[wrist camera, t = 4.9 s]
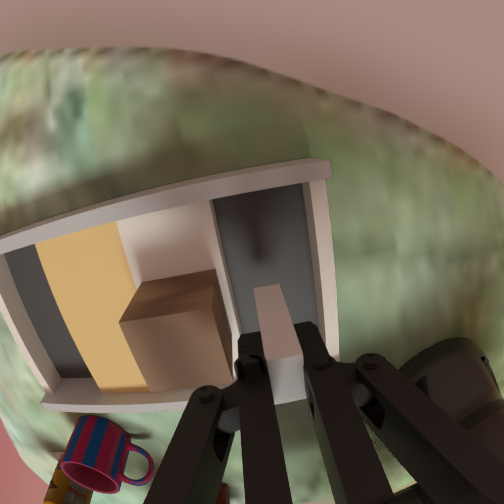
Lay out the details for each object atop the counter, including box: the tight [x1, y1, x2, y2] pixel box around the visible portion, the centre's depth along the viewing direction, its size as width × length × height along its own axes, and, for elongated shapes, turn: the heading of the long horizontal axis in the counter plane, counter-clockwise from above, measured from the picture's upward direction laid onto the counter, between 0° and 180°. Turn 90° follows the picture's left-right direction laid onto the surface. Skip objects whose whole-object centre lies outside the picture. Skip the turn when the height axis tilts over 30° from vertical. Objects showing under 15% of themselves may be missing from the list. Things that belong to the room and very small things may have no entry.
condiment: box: [43, 452, 93, 504], centre depth 25 cm, size 7×8×12 cm
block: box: [118, 269, 233, 392], centre depth 18 cm, size 5×5×5 cm
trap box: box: [0, 158, 340, 413], centre depth 21 cm, size 27×16×4 cm, turn 100°
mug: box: [60, 416, 154, 494], centre depth 25 cm, size 7×10×7 cm
